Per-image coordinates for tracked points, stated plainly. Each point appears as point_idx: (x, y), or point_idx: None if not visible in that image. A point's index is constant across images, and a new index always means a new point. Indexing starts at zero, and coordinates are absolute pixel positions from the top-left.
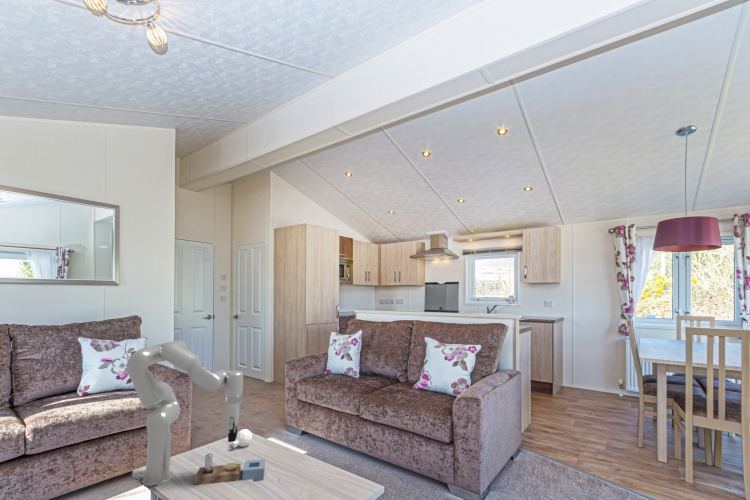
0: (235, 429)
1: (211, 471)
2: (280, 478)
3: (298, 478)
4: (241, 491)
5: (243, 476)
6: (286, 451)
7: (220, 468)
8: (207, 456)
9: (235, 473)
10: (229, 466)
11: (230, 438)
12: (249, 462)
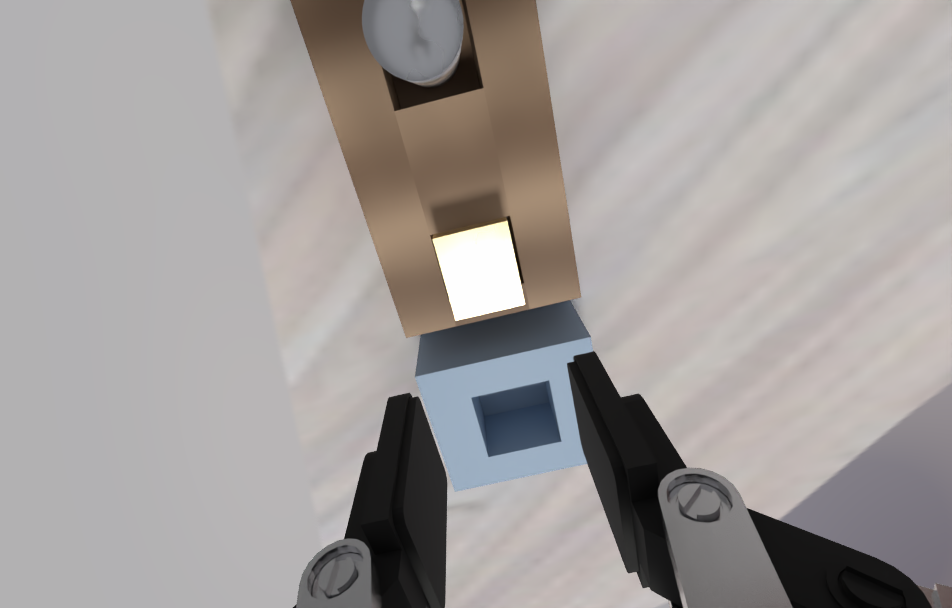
0: (625, 557)
1: (426, 86)
2: (477, 509)
3: (478, 577)
4: (308, 365)
5: (420, 357)
6: (841, 459)
7: (491, 153)
8: (372, 20)
9: (404, 318)
10: (441, 268)
11: (363, 480)
12: (557, 377)
